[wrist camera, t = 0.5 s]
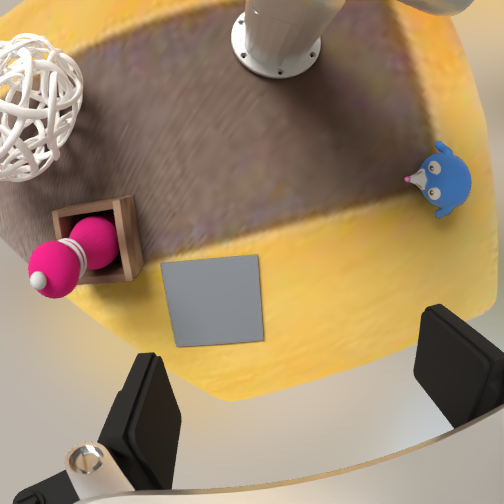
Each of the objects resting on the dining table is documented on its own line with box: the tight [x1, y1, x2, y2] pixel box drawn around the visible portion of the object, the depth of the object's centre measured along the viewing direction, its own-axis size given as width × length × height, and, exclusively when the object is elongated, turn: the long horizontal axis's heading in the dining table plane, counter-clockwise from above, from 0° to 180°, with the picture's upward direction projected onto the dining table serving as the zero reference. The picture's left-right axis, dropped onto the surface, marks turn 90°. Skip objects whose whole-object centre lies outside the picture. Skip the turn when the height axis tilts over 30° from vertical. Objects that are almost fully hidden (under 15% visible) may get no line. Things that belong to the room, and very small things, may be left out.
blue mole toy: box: [404, 141, 471, 218], centre depth 40 cm, size 12×12×8 cm
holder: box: [52, 195, 144, 285], centre depth 40 cm, size 11×11×6 cm
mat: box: [160, 254, 264, 347], centre depth 47 cm, size 14×14×1 cm
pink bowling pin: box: [28, 215, 120, 298], centre depth 34 cm, size 7×7×20 cm
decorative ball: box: [0, 34, 83, 182], centre depth 28 cm, size 20×20×19 cm
